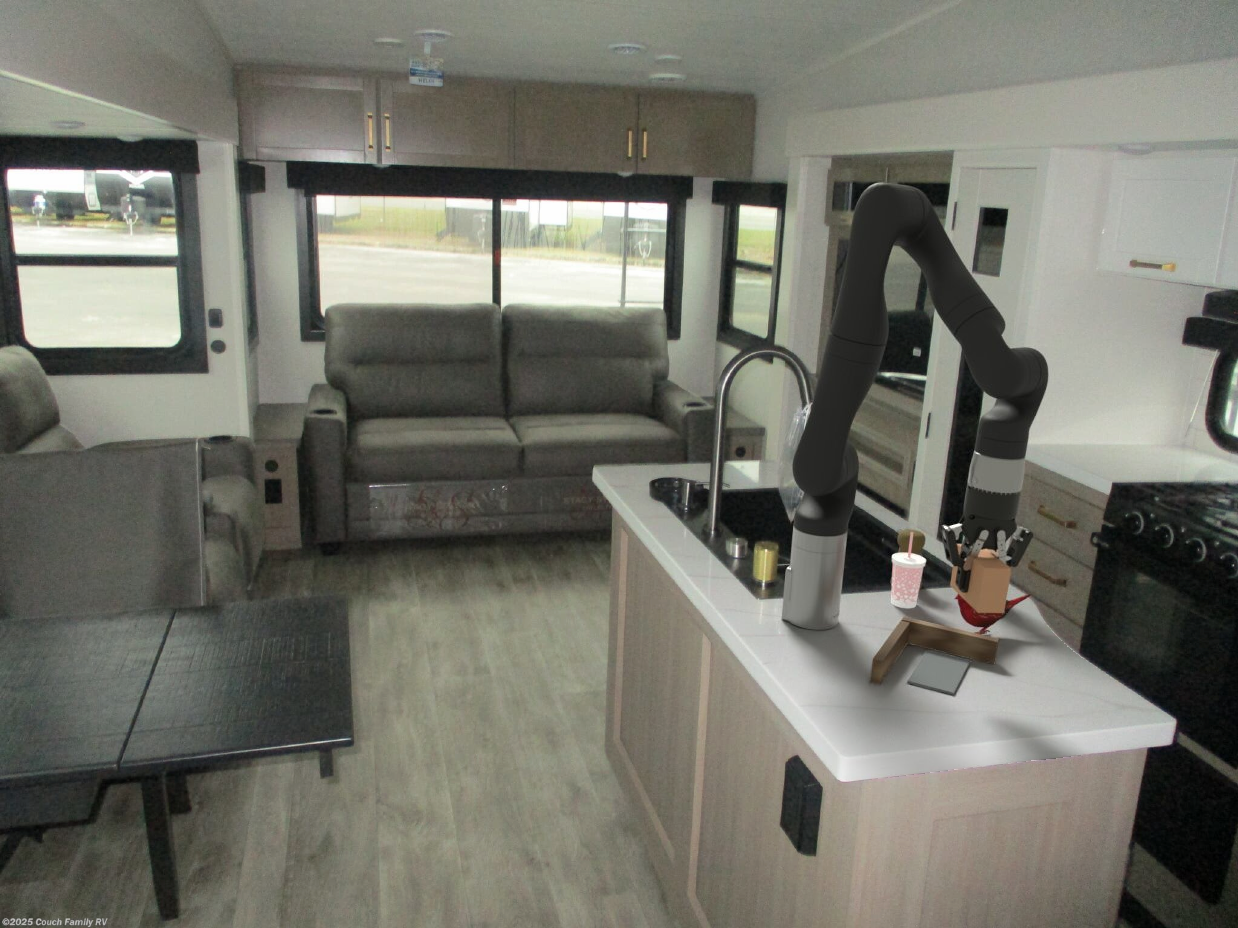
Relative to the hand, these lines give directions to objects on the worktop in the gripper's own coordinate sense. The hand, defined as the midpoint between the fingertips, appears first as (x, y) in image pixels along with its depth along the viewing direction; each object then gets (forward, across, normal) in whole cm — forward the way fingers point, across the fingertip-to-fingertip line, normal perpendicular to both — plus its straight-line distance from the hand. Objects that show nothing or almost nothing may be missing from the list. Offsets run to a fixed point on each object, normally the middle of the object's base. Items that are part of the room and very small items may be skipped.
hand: (977, 590), depth 149 cm
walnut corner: (+16, +2, -4) cm, 16 cm away
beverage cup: (+16, -2, -31) cm, 35 cm away
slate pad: (+16, +2, -4) cm, 16 cm away
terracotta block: (+1, 0, 0) cm, 1 cm away
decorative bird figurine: (+16, -12, -18) cm, 27 cm away
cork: (+16, -6, -40) cm, 44 cm away
